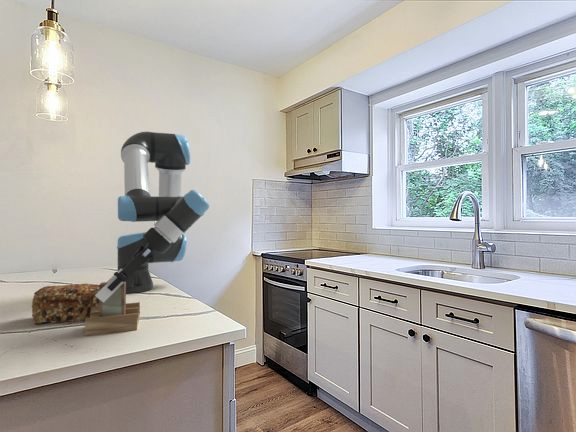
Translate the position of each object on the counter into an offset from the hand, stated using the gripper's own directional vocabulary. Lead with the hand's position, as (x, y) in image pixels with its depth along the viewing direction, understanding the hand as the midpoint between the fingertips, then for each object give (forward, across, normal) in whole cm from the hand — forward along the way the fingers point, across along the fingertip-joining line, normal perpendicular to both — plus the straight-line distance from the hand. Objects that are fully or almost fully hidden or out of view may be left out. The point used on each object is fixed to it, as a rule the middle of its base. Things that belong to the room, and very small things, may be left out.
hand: (103, 293), depth 91 cm
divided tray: (+5, +3, -8) cm, 10 cm away
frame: (+4, 0, -8) cm, 9 cm away
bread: (+14, +16, 0) cm, 21 cm away
